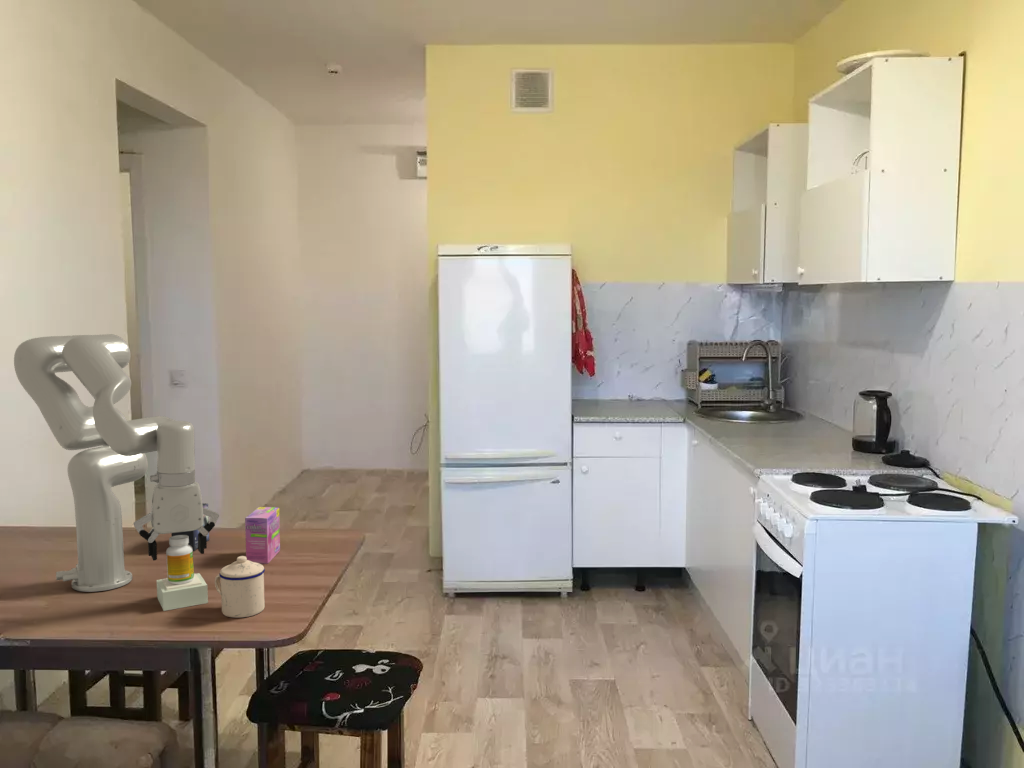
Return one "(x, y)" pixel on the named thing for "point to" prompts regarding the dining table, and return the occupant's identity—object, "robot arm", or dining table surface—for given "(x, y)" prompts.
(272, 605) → the dining table surface
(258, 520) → the box
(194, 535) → the small box
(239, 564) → the teacup with lid
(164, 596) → the pedestal
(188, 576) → the supplement bottle
